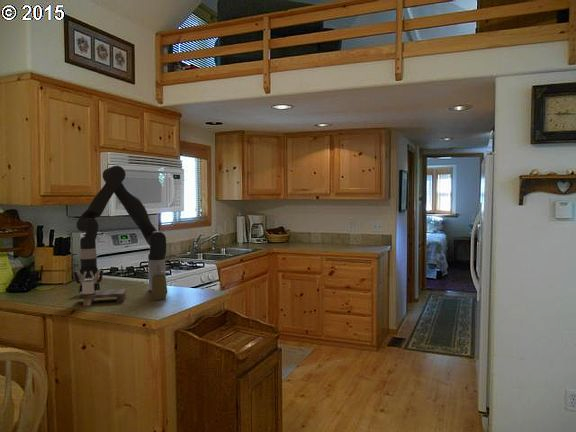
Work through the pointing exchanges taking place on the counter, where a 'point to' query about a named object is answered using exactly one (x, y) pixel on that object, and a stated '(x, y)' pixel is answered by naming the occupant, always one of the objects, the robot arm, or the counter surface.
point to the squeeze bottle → (159, 284)
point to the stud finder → (88, 286)
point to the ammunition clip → (88, 278)
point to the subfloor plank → (102, 295)
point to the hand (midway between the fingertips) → (89, 290)
